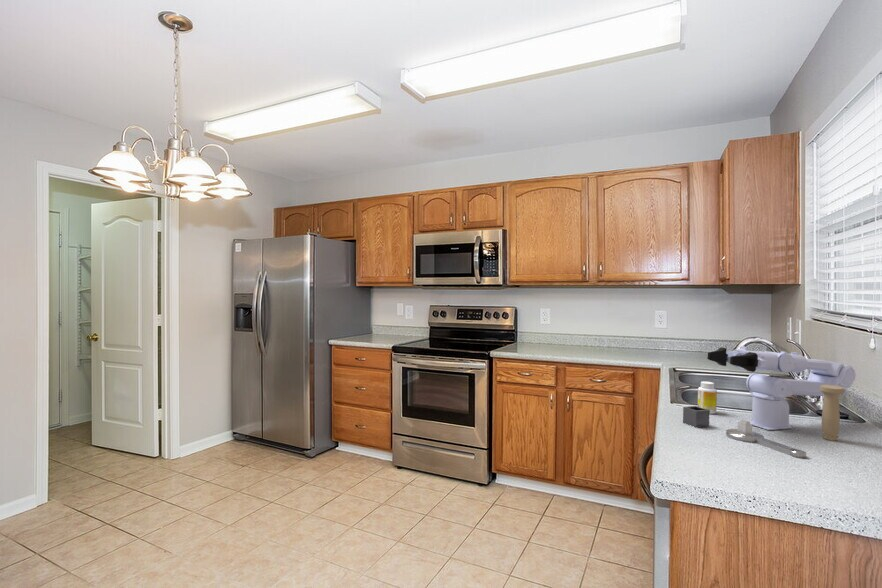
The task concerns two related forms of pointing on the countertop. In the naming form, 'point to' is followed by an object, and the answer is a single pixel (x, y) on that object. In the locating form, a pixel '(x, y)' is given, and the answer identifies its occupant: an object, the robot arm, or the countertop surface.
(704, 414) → the square metal tube
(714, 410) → the supplement bottle
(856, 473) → the countertop surface
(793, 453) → the ratchet
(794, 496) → the countertop surface
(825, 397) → the handle
